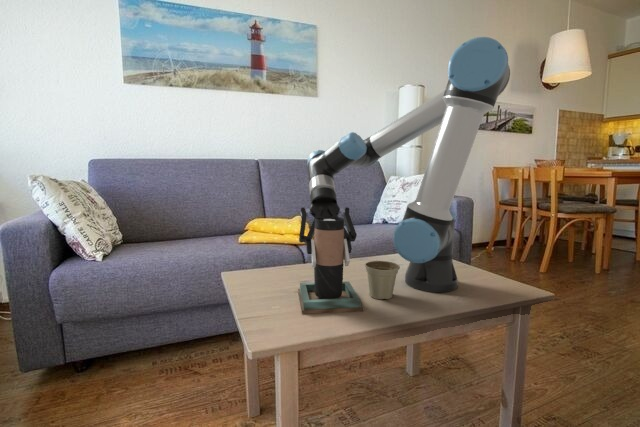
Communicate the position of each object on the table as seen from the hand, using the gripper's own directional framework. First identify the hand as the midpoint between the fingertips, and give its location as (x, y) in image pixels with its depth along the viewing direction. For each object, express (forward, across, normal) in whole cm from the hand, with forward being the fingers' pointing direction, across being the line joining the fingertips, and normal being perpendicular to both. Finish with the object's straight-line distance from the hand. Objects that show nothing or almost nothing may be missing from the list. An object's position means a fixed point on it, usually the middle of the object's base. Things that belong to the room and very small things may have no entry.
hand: (330, 263), depth 84 cm
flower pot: (+4, -15, -12) cm, 19 cm away
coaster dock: (+5, 0, -10) cm, 11 cm away
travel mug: (+4, 0, -9) cm, 10 cm away
